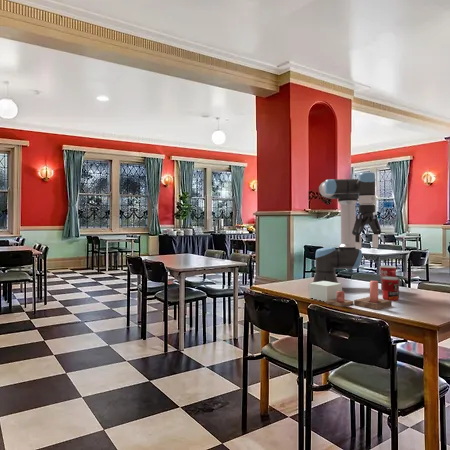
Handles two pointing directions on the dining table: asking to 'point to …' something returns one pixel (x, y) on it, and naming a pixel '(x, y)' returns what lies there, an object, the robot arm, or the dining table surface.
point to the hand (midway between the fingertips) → (367, 248)
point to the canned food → (390, 288)
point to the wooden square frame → (366, 303)
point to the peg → (374, 291)
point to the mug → (387, 272)
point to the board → (334, 302)
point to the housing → (324, 290)
